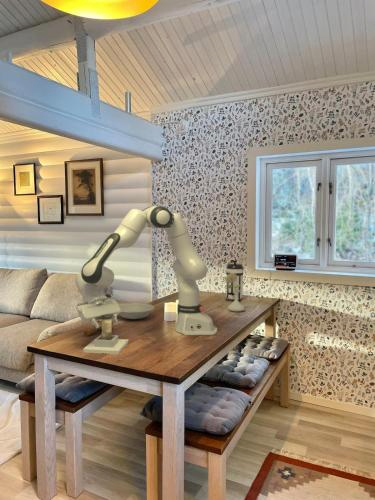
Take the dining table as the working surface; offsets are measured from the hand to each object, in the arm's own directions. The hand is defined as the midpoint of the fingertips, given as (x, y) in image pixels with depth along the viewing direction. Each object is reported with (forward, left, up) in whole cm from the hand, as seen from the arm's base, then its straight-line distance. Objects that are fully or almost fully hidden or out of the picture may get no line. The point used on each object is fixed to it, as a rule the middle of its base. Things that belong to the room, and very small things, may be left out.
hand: (107, 325), depth 170 cm
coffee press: (-58, -115, -11) cm, 130 cm away
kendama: (+12, -23, -11) cm, 28 cm away
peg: (+1, 0, -9) cm, 9 cm away
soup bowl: (+2, -53, -11) cm, 54 cm away
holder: (+1, 0, -10) cm, 10 cm away
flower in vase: (-58, -82, -11) cm, 102 cm away
